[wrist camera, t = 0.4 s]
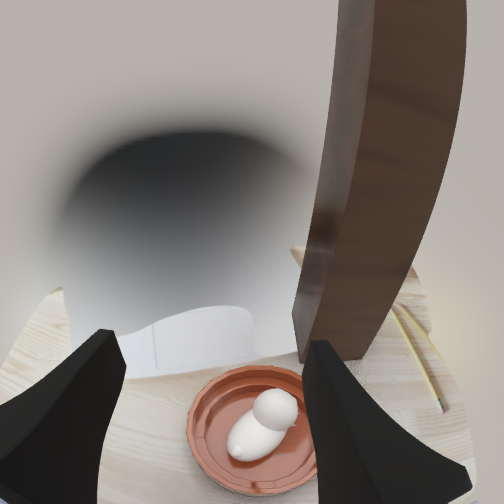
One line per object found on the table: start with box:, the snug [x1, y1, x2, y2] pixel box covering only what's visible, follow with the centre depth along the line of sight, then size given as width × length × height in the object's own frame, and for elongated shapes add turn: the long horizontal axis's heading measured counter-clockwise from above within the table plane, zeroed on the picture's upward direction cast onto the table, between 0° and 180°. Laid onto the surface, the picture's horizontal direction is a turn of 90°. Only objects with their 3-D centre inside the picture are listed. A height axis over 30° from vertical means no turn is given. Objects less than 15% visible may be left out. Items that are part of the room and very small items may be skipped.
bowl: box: [186, 366, 317, 496], centre depth 22 cm, size 13×13×4 cm
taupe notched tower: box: [292, 0, 467, 363], centre depth 21 cm, size 9×9×47 cm
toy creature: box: [227, 388, 300, 462], centre depth 21 cm, size 5×8×6 cm, turn 140°
